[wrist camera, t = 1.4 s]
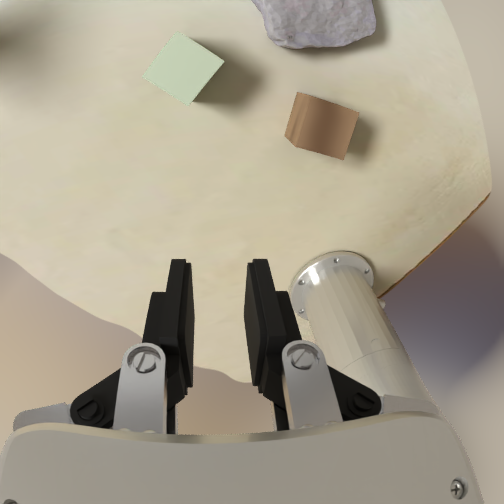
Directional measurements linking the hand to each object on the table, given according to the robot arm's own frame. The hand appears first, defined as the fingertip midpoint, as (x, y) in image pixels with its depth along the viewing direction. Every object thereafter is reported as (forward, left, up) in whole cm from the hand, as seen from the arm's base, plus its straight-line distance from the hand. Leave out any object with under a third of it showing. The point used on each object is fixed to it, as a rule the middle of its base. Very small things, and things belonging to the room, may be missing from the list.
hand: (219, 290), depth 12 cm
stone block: (-2, -19, -23) cm, 29 cm away
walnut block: (-8, -7, -22) cm, 25 cm away
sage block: (+6, -7, -22) cm, 24 cm away
